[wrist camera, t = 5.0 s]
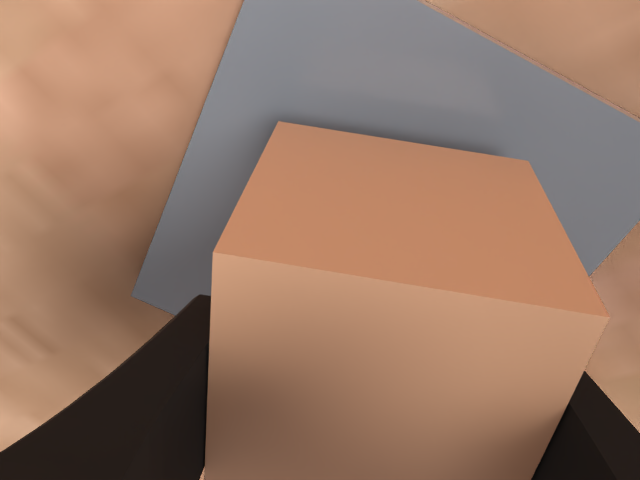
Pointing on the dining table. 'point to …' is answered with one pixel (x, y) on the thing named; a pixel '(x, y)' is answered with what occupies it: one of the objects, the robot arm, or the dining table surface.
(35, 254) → the dining table surface
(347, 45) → the plate
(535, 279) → the terracotta cube
